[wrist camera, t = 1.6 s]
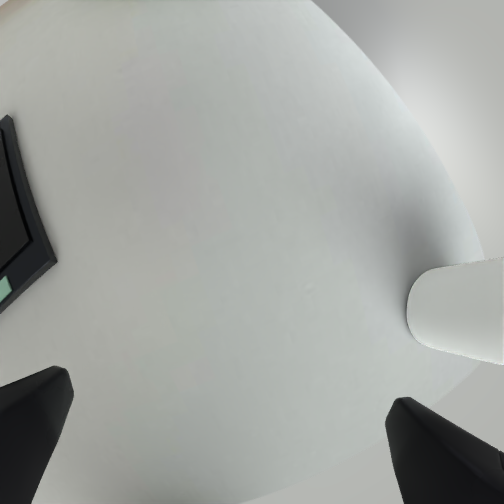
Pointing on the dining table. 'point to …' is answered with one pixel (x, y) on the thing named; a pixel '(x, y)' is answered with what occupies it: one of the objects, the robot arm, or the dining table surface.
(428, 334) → the can
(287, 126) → the dining table surface
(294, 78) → the dining table surface
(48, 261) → the scale
